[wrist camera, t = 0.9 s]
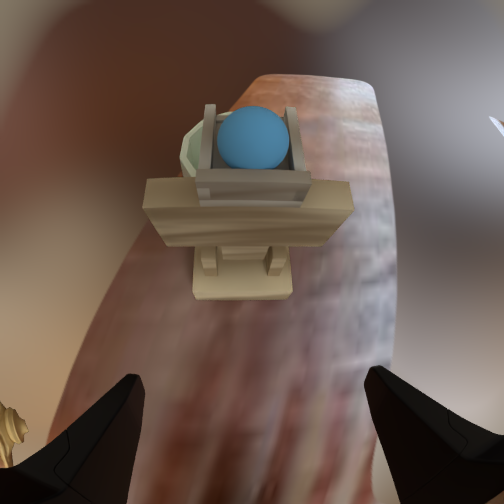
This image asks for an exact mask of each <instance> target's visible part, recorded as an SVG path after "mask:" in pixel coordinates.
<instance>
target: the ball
mask: <svg viewBox="0 0 504 504" xmlns="http://www.w3.org/2000/svg"><path fill="white" fill-rule="evenodd" d="M217 145H218V150H219V153H220V155H221V157H222V159H223V160H224V161H225V163H226V164H227V165H228V166H229V167H231V168H232V169H275V168H276V167H277V166H278V165H279V164H280V163H281V162H282V161H283V159H284V158H285V156H286V154H287V151H288V147H289V134H288V131H287V128H286V126H285V124H284V122H283V121H282V119H281V118H280V117H279V116H278V115H277V114H275V113H274V112H272V111H271V110H269V109H266V108H263V107H258V106H248V107H243V108H240V109H238V110H236V111H234V112H232V113H231V114H230V115H229V116H228V117H227V118H226V119H225V120H224V121H223V123H222V124H221V126H220V129H219V131H218V136H217Z"/></svg>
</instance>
